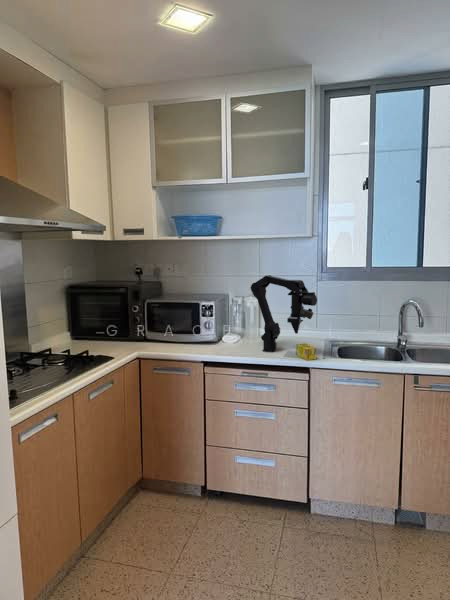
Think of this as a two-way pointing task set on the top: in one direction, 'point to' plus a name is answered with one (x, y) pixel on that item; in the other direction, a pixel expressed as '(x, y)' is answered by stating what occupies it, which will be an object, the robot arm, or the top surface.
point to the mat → (291, 354)
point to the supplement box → (306, 351)
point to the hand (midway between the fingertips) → (296, 333)
